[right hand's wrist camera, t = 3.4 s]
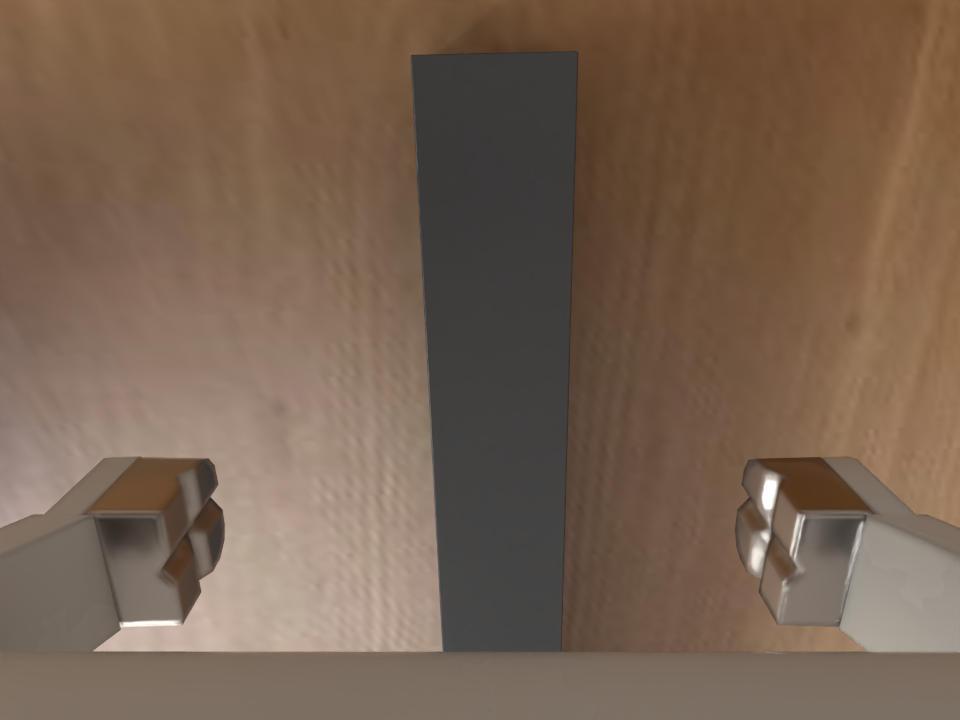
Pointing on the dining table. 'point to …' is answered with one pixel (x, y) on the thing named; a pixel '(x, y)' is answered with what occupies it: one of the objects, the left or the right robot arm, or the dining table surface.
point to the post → (498, 335)
